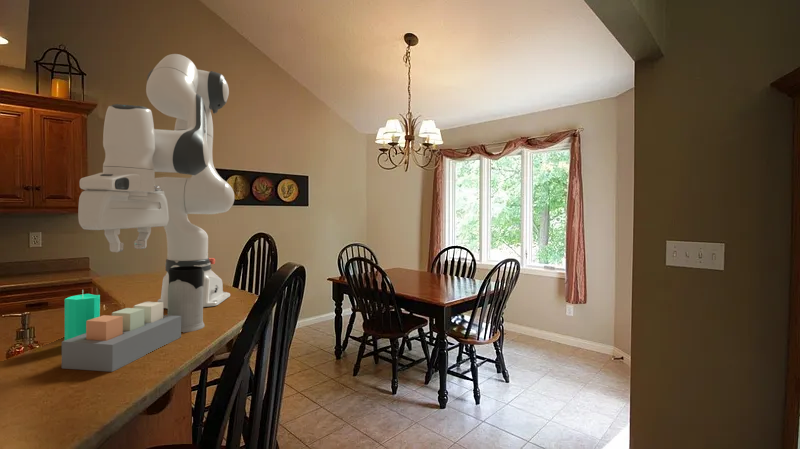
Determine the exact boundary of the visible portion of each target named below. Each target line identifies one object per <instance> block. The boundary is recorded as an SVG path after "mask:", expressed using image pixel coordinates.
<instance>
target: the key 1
mask: <svg viewBox="0 0 800 449" xmlns="http://www.w3.org/2000/svg"><path fill="white" fill-rule="evenodd" d="M122 334H123V316H112V315H105V314H103V315H100V317H97V318H93V319H90V320H87V321H86V340H100V341H107V340H110V339H112V338H115V337H117V336H120V335H122Z"/></svg>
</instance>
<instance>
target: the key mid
mask: <svg viewBox="0 0 800 449" xmlns="http://www.w3.org/2000/svg"><path fill="white" fill-rule="evenodd" d="M144 312H145V309H138V308H134V307H125V308H122V309H119V310H116V311H113V312H111V316H123V331H132V330H135V329H137V328H140V327H142V326H144Z"/></svg>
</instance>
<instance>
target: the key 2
mask: <svg viewBox="0 0 800 449" xmlns="http://www.w3.org/2000/svg"><path fill="white" fill-rule="evenodd" d="M133 308H138V309H145V312H144V323H152V322H155V321H157V320H160V319H162V318H163V315H164V308H163V302H158V301H143V302H140V303H138V304H135V305H133Z"/></svg>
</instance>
